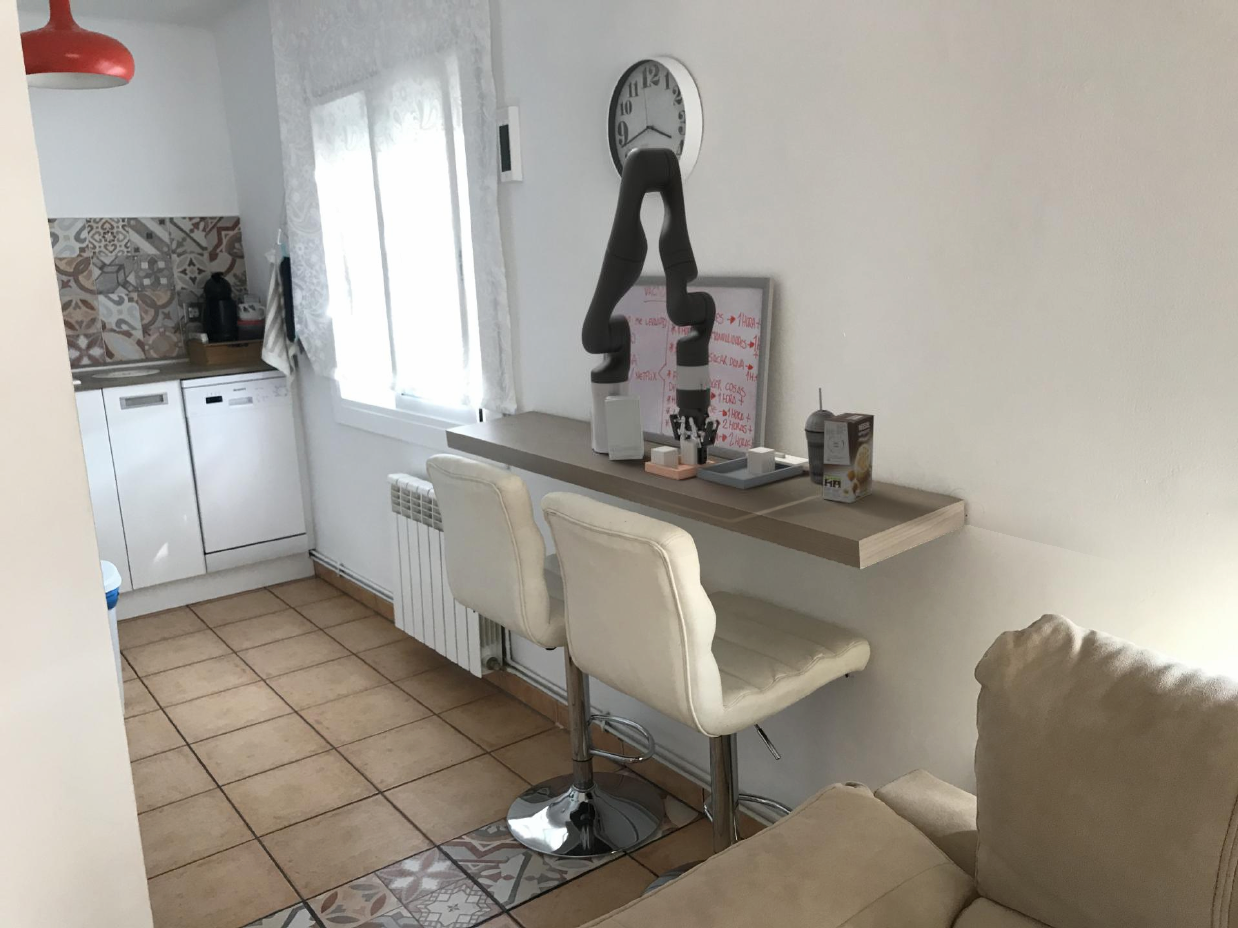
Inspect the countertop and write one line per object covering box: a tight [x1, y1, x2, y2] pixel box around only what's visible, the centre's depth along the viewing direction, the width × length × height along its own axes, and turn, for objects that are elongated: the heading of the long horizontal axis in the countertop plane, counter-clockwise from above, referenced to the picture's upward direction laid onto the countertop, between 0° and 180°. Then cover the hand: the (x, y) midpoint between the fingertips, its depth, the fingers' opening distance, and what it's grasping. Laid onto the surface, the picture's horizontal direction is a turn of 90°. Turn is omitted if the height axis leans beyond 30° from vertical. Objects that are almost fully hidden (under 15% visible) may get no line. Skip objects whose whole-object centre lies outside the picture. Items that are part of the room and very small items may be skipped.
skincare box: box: [605, 393, 645, 461], centre depth 234 cm, size 8×6×15 cm
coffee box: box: [822, 412, 875, 504], centre depth 194 cm, size 9×6×16 cm
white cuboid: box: [679, 437, 709, 466], centre depth 218 cm, size 4×4×5 cm
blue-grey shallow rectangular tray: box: [696, 451, 809, 490], centre depth 213 cm, size 15×21×4 cm
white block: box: [650, 445, 679, 470], centre depth 219 cm, size 4×4×5 cm
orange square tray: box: [644, 454, 716, 481], centre depth 219 cm, size 11×11×2 cm
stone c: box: [746, 446, 776, 475], centre depth 214 cm, size 4×4×5 cm
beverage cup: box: [804, 387, 836, 485], centre depth 204 cm, size 7×7×20 cm
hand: (694, 461), depth 218 cm, fingers closed on white cuboid, 4 cm apart
